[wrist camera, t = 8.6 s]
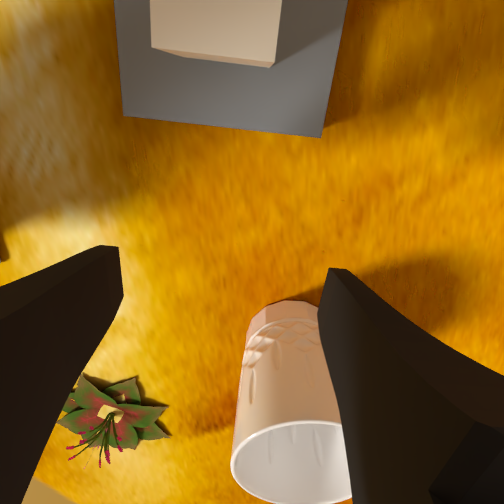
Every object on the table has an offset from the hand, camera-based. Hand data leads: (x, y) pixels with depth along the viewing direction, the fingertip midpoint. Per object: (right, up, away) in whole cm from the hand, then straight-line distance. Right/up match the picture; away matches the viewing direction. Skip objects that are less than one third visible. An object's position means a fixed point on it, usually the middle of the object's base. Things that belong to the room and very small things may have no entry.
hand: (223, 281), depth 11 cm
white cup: (+4, -5, +14) cm, 16 cm away
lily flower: (-12, -14, +20) cm, 27 cm away
